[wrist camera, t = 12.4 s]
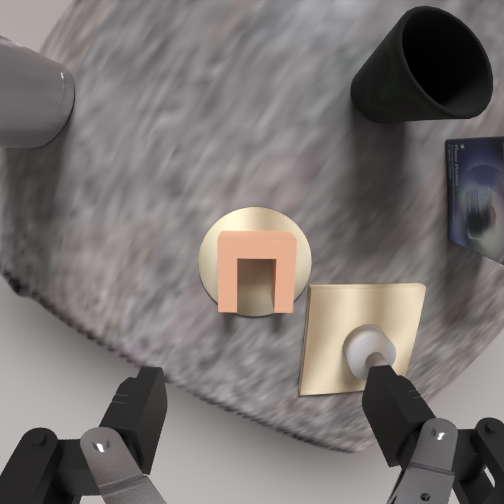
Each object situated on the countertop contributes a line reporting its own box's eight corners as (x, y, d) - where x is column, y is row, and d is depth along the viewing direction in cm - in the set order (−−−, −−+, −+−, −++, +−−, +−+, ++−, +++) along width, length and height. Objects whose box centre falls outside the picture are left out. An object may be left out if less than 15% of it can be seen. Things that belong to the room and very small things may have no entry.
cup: (408, 144, 27) (491, 136, 15) (334, 121, 26) (391, 92, 14) (416, 72, 25) (492, 37, 13) (345, 47, 24) (398, -13, 13)
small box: (440, 138, 26) (512, 132, 16) (485, 141, 26) (554, 139, 16) (444, 242, 29) (511, 271, 19) (487, 236, 29) (552, 261, 19)
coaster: (200, 313, 30) (200, 315, 30) (198, 206, 28) (197, 206, 27) (306, 314, 30) (307, 316, 30) (313, 208, 28) (314, 209, 28)
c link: (220, 230, 28) (217, 238, 24) (290, 231, 28) (297, 240, 25) (221, 296, 29) (218, 312, 26) (287, 296, 29) (292, 312, 26)
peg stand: (298, 388, 33) (316, 466, 22) (308, 284, 30) (341, 345, 19) (398, 379, 33) (439, 442, 22) (420, 283, 30) (484, 330, 19)
